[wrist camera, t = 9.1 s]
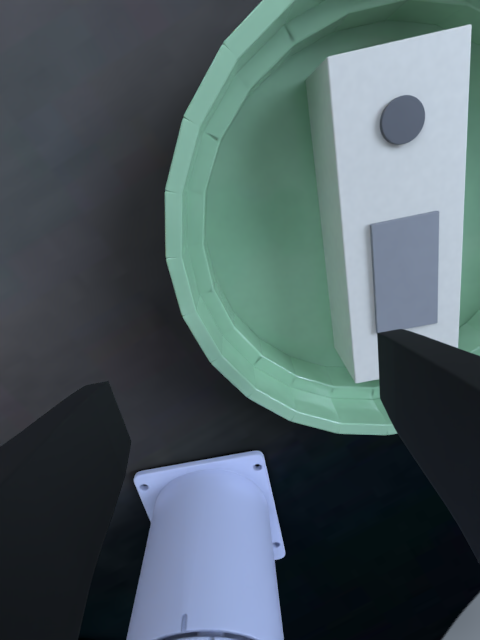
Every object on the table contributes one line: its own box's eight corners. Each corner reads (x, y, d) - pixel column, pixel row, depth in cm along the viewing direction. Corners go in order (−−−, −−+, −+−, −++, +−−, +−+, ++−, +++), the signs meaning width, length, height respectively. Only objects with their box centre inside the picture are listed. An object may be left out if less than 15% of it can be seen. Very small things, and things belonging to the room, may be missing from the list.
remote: (419, 331, 19) (460, 367, 16) (334, 347, 19) (356, 386, 16) (418, 54, 14) (476, 20, 11) (304, 79, 14) (328, 54, 11)
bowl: (532, 348, 20) (611, 396, 16) (224, 405, 21) (223, 465, 17) (586, -64, 13) (747, -164, 9) (130, 44, 14) (89, -6, 10)
